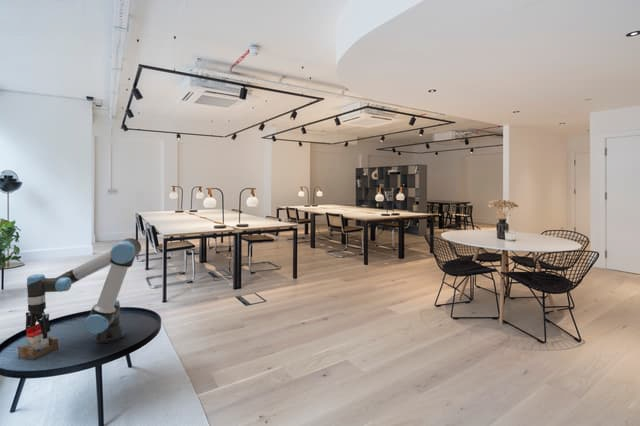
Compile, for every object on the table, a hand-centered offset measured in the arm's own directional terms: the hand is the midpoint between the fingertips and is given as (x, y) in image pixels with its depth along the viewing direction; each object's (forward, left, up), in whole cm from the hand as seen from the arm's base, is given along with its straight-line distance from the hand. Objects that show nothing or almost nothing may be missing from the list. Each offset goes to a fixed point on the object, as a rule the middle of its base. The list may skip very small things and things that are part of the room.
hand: (38, 342), depth 187 cm
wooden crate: (0, 0, -6) cm, 6 cm away
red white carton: (0, 0, -5) cm, 5 cm away
